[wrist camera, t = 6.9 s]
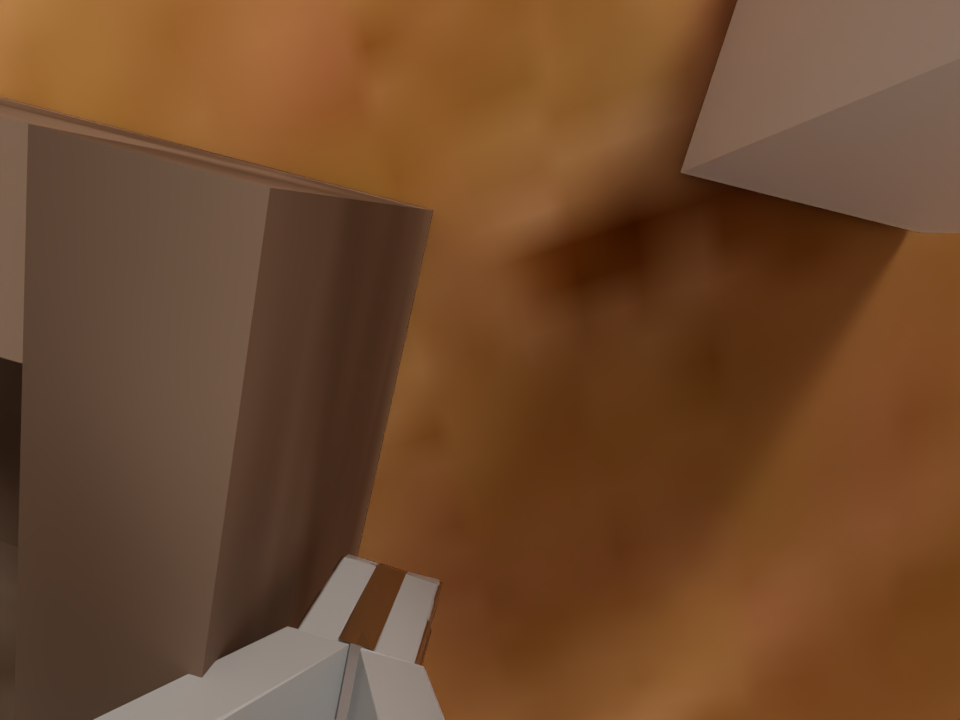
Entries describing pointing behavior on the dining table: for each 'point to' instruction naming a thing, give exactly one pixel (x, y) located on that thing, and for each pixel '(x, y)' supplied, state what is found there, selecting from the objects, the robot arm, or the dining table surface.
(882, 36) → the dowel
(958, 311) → the dining table surface
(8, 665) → the brown square open box
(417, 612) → the robot arm
